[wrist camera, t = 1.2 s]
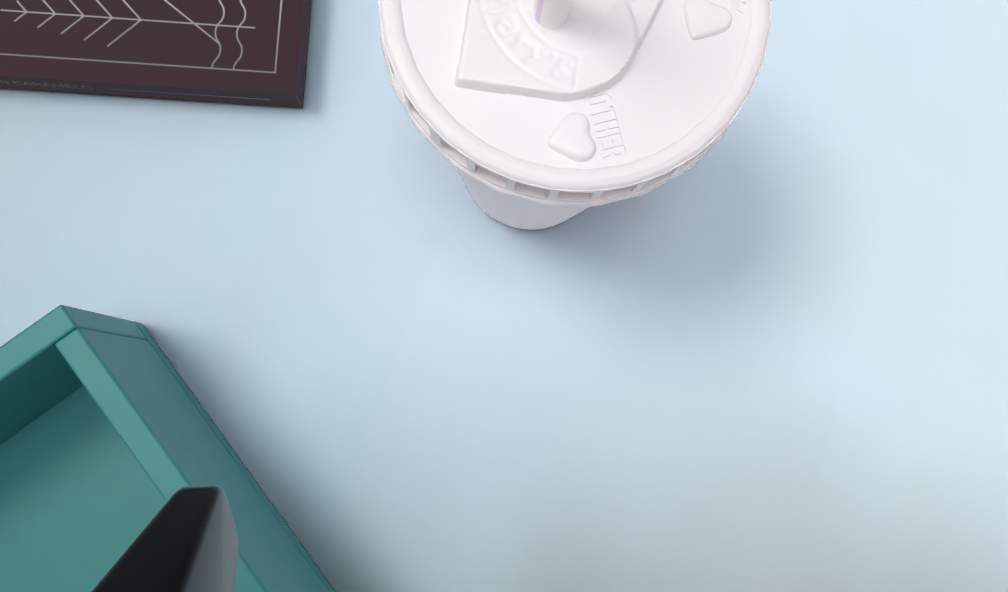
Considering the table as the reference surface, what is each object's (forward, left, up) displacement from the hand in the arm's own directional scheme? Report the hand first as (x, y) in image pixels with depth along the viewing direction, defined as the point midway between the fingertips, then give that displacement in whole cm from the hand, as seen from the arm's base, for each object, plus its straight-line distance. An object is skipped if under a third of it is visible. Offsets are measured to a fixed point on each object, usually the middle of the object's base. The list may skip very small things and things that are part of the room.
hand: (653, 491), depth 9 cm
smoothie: (+6, -4, -13) cm, 15 cm away
